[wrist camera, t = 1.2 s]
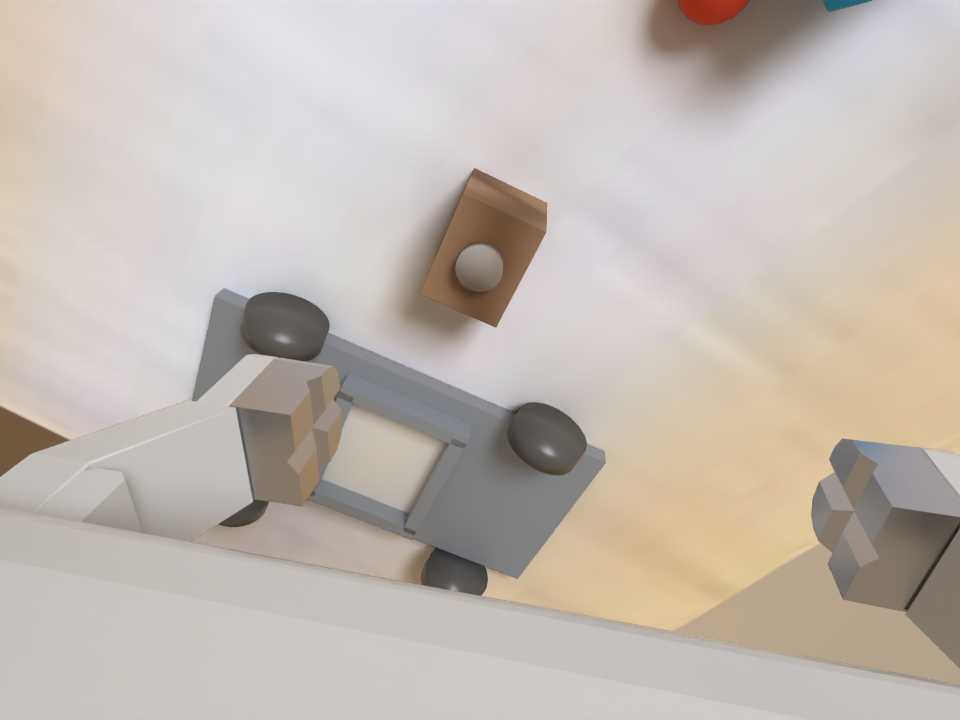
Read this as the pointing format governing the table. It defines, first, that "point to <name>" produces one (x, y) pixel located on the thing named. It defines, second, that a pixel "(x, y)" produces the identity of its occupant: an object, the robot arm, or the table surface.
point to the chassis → (417, 447)
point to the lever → (737, 9)
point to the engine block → (486, 248)
